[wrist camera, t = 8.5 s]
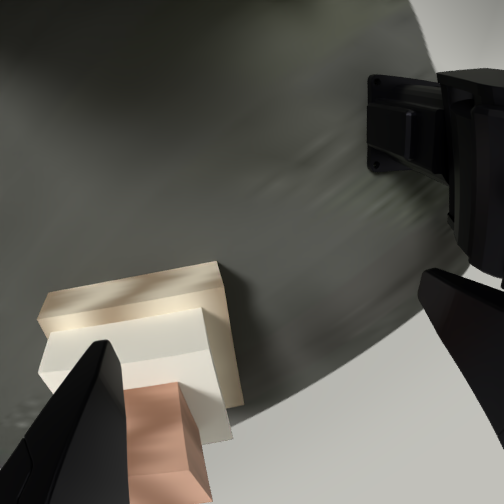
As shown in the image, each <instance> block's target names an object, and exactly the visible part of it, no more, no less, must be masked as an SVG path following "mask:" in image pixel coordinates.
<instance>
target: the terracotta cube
mask: <svg viewBox="0 0 504 504" xmlns="http://www.w3.org/2000/svg"><path fill="white" fill-rule="evenodd" d="M123 391H124V401H125V410H126V422H127V464H128V484H129V498H130V504H199V503H206V502H213V500H212V495H211V490H210V486H209V481H208V476H207V471H206V466H205V461H204V456H203V450H202V445H201V439H200V433H199V429H198V427H197V425H196V423H195V420H194V418H193V416H192V414H191V412H190V409H189V407H188V405H187V403H186V400H185V398H184V396H183V393H182V391H181V389H180V386H179V384H178V382H172V383H166V384H160V385H154V386H147V387H140V388H133V389H125V390H123Z"/></svg>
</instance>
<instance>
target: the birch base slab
mask: <svg viewBox="0 0 504 504" xmlns="http://www.w3.org/2000/svg"><path fill="white" fill-rule="evenodd" d="M200 307H201V308H202V313H203V317H204V322H205V326H206V330H207V335H208V339H209V343H210V347H211V351H212V356H213V360H214V364H215V368H216V372H217V376H218V380H219V383H220V387H221V391H222V395H223V399H224V402H225V407H226V408H231V407H236V406H240V405H244V400H243V395H242V389H241V384H240V378H239V373H238V367H237V362H236V356H235V350H234V344H233V339H232V333H231V327H230V321H229V315H228V309H227V302H226V296H225V290H224V285H223V281H222V278H221V275H220V271H219V268H218V264H217V261H214V262H208V263H203V264H198V265H193V266H187V267H182V268H177V269H171V270H166V271H161V272H156V273H150V274H145V275H140V276H134V277H129V278H124V279H119V280H113V281H108V282H103V283H97V284H92V285H87V286H81V287H76V288H71V289H65V290H60V291H55V292H49V293H48V295H47V297H46V300H45V302H44V304H43V306H42V309H41V311H40V313H39V316H38V318H37V320H38V322H39V324H40V326H41V328H42V330H43V331H44V333H45V335H46V337H47V338H48V339H49V336H50V333H51V332H57V331H64V330H71V329H77V328H84V327H91V326H97V325H103V324H110V323H116V322H122V321H128V320H134V319H140V318H146V317H151V316H157V315H163V314H168V313H174V312H179V311H184V310H190V309H195V308H200Z"/></svg>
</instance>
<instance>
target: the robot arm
mask: <svg viewBox="0 0 504 504" xmlns="http://www.w3.org/2000/svg"><path fill="white" fill-rule="evenodd" d="M436 74H437V80H438V83H436V82H430V81H424V80H418V79H411V78H403V77H396V76H387V75H377V74H373V75H370V76H369V77H368V81H367V82H368V106H367V143H368V152H367V167H368V168H369V169H370V170H371V171H373V172H385V171H399V170H415V171H417V172H419V173H422V174H424V175H426V176H428V177H430V178H432V179H434V180H436V181H438V182H440V183H442V184H444V185H446V186H448V187H449V213H448V221H447V222H448V224H449V225H450V226H451V228H452V229H453V230H454V235H455V238H456V241H457V244H458V245H459V246H460V247H461V249H462V250H463V251H464V252H465V253H466V254H467V255H468V256H469V259H468V261H469V263H470V264H471V265H472V266H474V267H476V268H477V269H479V270H480V271H482V272H484V273H486V274H489V275H491V276H493V277H497V278H501V279H502V283H501V288H502V289H504V70H499V69H489V68H480V69H467V70H456V71H446V72H438V73H436ZM375 79H376V80H377V84H376V85H375V83H374V80H375ZM439 83H440V84H439ZM375 162H376V166H375V167H374V166H373V165H374V163H375ZM418 299H419V301H420V303H421V305H422V306H423V308H424V310H425V312H426V314H427V315H428V317H429V319H430V321H431V323H432V325H433V326H434V328H435V330H436V332H437V334H438V336H439V337H440V339H441V340H442V342H443V344H444V345H445V347H446V348H447V350H448V352H449V353H450V355H451V356H452V358H453V359H454V361H455V363H456V364H457V366H458V368H459V369H460V371H461V372H462V374H463V376H464V377H465V379H466V381H467V382H468V384H469V386H470V387H471V389H472V391H473V393H474V394H475V396H476V398H477V400H478V401H479V403H480V405H481V407H482V408H483V410H484V412H485V414H486V416H487V417H488V419H489V421H490V423H491V425H492V427H493V429H494V431H495V433H496V435H497V437H498V439H499V441H500V443H501V445H502V447H503V449H504V292H503V291H500V290H498V289H495V288H492V287H489V286H487V285H484V284H481V283H478V282H475V281H473V280H470V279H467V278H464V277H461V276H458V275H455V274H452V273H449V272H447V271H444V270H441V269H438V268H431V269H428V270H425V271H424V272H423V273H422V277H421V281H420V285H419V289H418ZM0 504H130V498H129V484H128V464H127V422H126V410H125V401H124V391H123V379H122V368H121V363H120V361H119V359H118V357H117V355H116V352H115V350H114V348H113V346H112V344H111V342H110V341H109V340H107V339H104V340H97V341H94V342H93V343H92V344H91V345H90V346H89V348H88V349H87V350H86V351H85V353H84V354H83V355H82V357H81V358H80V359H79V361H78V362H77V363H76V364H75V366H74V367H73V368H72V370H71V371H70V372H69V374H68V375H67V376H66V378H65V379H64V380H63V382H62V383H61V385H60V386H59V387H58V389H57V390H56V391H55V393H54V394H53V396H52V397H51V398H50V400H49V401H48V402H47V404H46V405H45V407H44V408H43V409H42V411H41V412H40V414H39V415H38V417H37V418H36V419H35V421H34V422H33V424H32V425H31V427H30V428H29V430H28V431H27V433H26V434H25V436H24V438H22V440H21V441H20V443H19V444H18V446H17V447H16V449H15V450H14V452H13V453H12V455H11V456H10V458H9V459H8V460H7V462H6V463H5V465H4V466H3V467H2V469H1V470H0Z"/></svg>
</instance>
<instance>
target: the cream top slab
mask: <svg viewBox="0 0 504 504" xmlns="http://www.w3.org/2000/svg"><path fill="white" fill-rule="evenodd" d="M104 339H107V340H109V341H110V342H111V344H112V346H113V348H114V350H115V352H116V355H117V357H118V359H119V361H120V363H121V368H122V379H123V390H125V389H133V388H140V387H147V386H154V385H160V384H166V383H172V382H178V384H179V386H180V389H181V391H182V393H183V396H184V398H185V400H186V403H187V405H188V407H189V409H190V412H191V414H192V416H193V418H194V420H195V423H196V425H197V427H198V429H199V433H200V439H201V445H204V444H210V443H216V442H221V441H226V440H231V439H233V435H232V432H231V427H230V423H229V419H228V415H227V411H226V407H225V402H224V399H223V395H222V391H221V387H220V383H219V380H218V376H217V372H216V368H215V364H214V360H213V356H212V351H211V347H210V343H209V339H208V335H207V330H206V326H205V322H204V317H203V313H202V308H201V307H200V308H195V309H190V310H184V311H179V312H174V313H168V314H163V315H157V316H151V317H146V318H140V319H134V320H128V321H122V322H116V323H110V324H103V325H97V326H91V327H84V328H77V329H71V330H64V331H57V332H51V333H50V336H49V339H48V342H47V345H46V348H45V351H44V354H43V357H42V361H41V364H40V367H39V371H38V374H39V375H40V376H41V378H42V379H43V381H44V382H45V383H46V385H47V386H48V387H49V389H50V390H51V391H52V393H53V394H54V393H55V391H56V390H57V389H58V387H59V386H60V385H61V383H62V382H63V380H64V379H65V378H66V376H67V375H68V374H69V372H70V371H71V370H72V368H73V367H74V366H75V364H76V363H77V362H78V361H79V359H80V358H81V357H82V355H83V354H84V353H85V351H86V350H87V349H88V348H89V346H90V345H91V344H92V343H93V342H94V341H97V340H104Z"/></svg>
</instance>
